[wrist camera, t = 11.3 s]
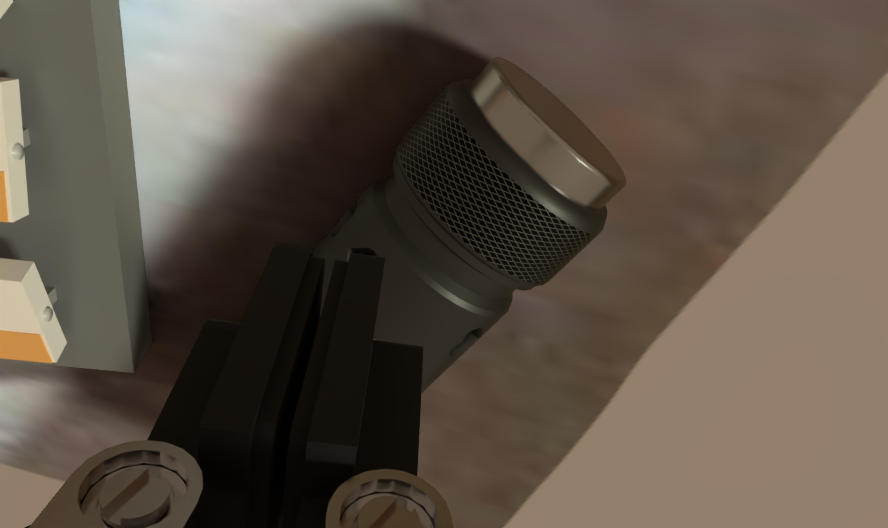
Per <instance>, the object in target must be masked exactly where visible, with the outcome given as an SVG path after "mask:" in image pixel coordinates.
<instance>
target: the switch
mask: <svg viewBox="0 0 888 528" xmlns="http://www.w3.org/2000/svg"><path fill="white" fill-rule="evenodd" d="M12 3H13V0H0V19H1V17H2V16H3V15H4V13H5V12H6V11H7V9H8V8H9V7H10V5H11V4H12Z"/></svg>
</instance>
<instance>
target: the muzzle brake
mask: <svg viewBox="0 0 888 528" xmlns="http://www.w3.org/2000/svg"><path fill="white" fill-rule="evenodd" d="M393 171H394V174H393V175H392V177H386V178H381V179H378V180H376V181H375V182H373V183H372V184H370V186H369V187H368V188H367V189H366V190H365V191H364V193H363V194H362V195H361V196H360V197H359V198H358V200H357V201H356V202H355V203H354V204H353V206H352V207H351V208H350V210H349V211H348V212H347V213H346V214H345V215H344V216H343V217H342V218H341V220H340V221H339V222H338V223H337V224H336V225H335V227H334V228H333V229H332V230H331V231H330V232H329V234H328V235H327V236H326V237H325V238H324V240H323V241H322V242H321V243H320V244H319V245H318V247H317V248H316V249H315V250H314V251H313V257H320V258H325V269H324V280H323V291H322V302H321V313H322V309H323V305H324V301H325V298H326V294H327V290H328V286H329V282H330V279H331V275H332V271H333V267H334V264H335V260H341V261H348V262H349V258H350V254H351V253H357V254H364V255H371V256H378V257H385V265H384V272H383V279H382V286H381V293H380V300H379V307H378V314H377V321H376V328H375V335H374V340H378V341H386V342H393V343H401V344H408V345H415V346H423V367H422V387H421V393H422V392H423V391H424V390H425V389H426V388H427V387H429V386H430V385H431V384H432V383H433V382H434V381H435V380H436V379H437V378H438V377H439V376H440V375H441V374H442V373H443V372H444V371H445V370H446V369H448V368H449V367H450V366H451V365H452V364H453V363H454V362H455V361H456V360H457V359H458V358H459V357H460V356H461V355H462V354H463V353H464V352H465V351H467V350H468V349H469V348H470V347H471V346H472V345H473V344H474V343H475V342H476V341H477V340H478V339H479V338H480V337H481V336H482V335H483V334H484V333H485V332H487V331H488V330H489V329H490V328H491V327H492V326H493V325H494V324H495V323H496V322H497V321H498V320H499V319H500V318H501V317H502V316H503V315H504V314H506V313H507V312H508V310H509V307H510V305H511V302H512V293H513V292H514V291H515V290H516V289H518V290H530V289H532V288H533V287H535V286H539V285H544V284H545V283H547V282H548V281H549V280H550V279H552V278H553V277H554V276H555V275H556V274H557V273H558V272H559V271H560V270H561V269H562V268H563V267H564V266H565V265H566V264H567V263H569V262H570V261H571V260H572V259H573V258H574V257H575V256H576V255H577V254H578V253H579V252H580V251H581V250H582V249H583V248H584V247H586V246H587V245H588V244H589V243H590V242H591V241H592V240H593V239H594V238H595V237H596V236H597V235H598V234H599V233H600V232H601V231H602V230H603V228H604V224H605V221H606V217H607V209H606V206H605V205H606V204H607V203H608V202H609V201H610V200H611V199H612V198H613V197H614V196H615V195H616V194H617V193H618V192H619V191H620V190H621V189H622V188H623V187H624V186H625V184H626V178H625V175H624V173H623V171H622V169H621V168H620V166H619V164H618V163H617V161H616V160H615V159H614V157H613V156H612V155H611V154H610V152H609V151H608V150H607V149H606V147H605V146H604V145H603V144H602V143H601V142H600V141H599V139H598V138H597V137H596V136H595V135H594V134H593V133H592V132H591V131H590V130H589V129H588V128H587V126H586V125H585V124H584V123H583V122H582V121H581V120H580V119H579V118H578V117H577V116H576V115H575V114H574V113H573V112H572V111H571V110H570V109H569V108H567V107H566V106H565V105H564V104H563V103H562V102H561V101H560V100H559V99H558V98H557V97H556V96H555V95H553V94H552V93H551V92H550V91H549V90H548V89H547V88H545V87H544V86H543V85H542V84H541V83H539V82H538V81H537V80H536V79H534V78H533V77H532V76H531V75H529V74H528V73H526V72H525V71H524V70H522V69H521V68H519V67H518V66H516V65H515V64H513V63H511V62H510V61H508V60H506V59H503V58H500V57H496V58H494V59H492V60H491V61H490V62H489V63H488V64H487V65H486V67H485V68H484V69H483V70H482V71H481V72H480V74H479V75H478V76H477V77H476V78H475V79H470V78H464V79H461V80H458V81H455V82H452V83H450V84H448V85H446V87H445V88H444V89H443V90H442V91H441V93H440V94H439V95H438V96H437V97H436V98H435V100H434V101H433V102H432V103H431V104H430V106H429V107H428V108H427V109H426V110H425V111H424V113H423V114H422V115H421V116H420V117H419V119H418V120H417V121H416V122H415V123H414V124H413V126H412V127H411V128H410V129H409V130H408V132H407V133H406V134H405V135H404V136H403V137H402V139H401V140H400V142H399V144H398V146H397V153H396V155H395V157H394V159H393ZM321 313H320V317H321Z"/></svg>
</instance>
